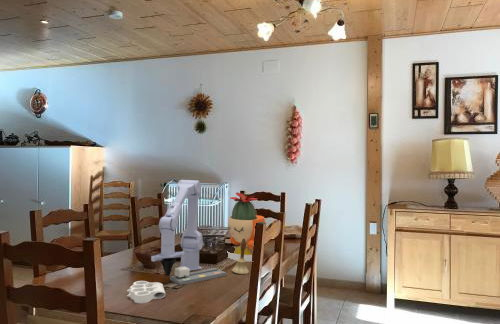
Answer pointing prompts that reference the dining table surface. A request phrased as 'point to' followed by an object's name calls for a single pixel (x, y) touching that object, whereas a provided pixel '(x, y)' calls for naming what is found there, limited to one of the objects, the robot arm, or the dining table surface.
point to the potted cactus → (243, 226)
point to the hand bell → (241, 261)
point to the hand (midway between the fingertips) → (167, 275)
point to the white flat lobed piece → (146, 291)
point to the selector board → (198, 276)
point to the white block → (182, 272)
